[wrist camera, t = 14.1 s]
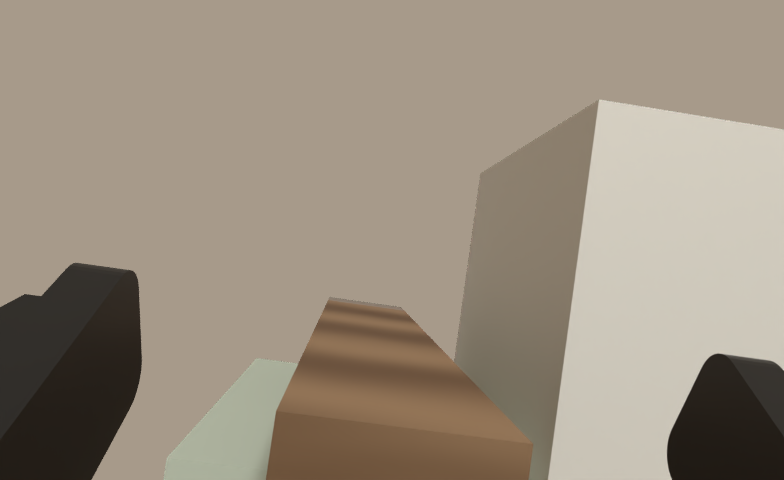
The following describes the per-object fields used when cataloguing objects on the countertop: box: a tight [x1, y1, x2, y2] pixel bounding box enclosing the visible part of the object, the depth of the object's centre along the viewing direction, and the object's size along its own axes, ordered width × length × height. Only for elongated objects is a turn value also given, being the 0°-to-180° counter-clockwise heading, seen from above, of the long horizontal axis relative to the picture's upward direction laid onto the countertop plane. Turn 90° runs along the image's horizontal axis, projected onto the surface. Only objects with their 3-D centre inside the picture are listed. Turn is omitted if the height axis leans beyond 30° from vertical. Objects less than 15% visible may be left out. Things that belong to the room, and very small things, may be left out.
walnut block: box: [266, 297, 533, 480], centre depth 21 cm, size 24×4×4 cm, turn 4°
